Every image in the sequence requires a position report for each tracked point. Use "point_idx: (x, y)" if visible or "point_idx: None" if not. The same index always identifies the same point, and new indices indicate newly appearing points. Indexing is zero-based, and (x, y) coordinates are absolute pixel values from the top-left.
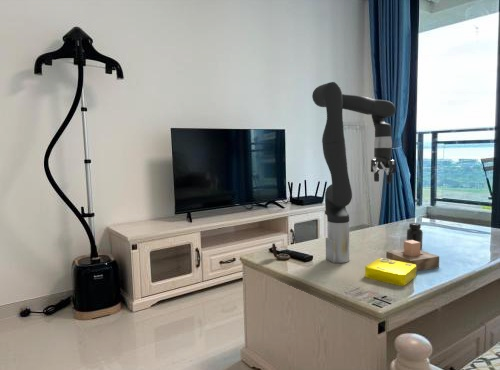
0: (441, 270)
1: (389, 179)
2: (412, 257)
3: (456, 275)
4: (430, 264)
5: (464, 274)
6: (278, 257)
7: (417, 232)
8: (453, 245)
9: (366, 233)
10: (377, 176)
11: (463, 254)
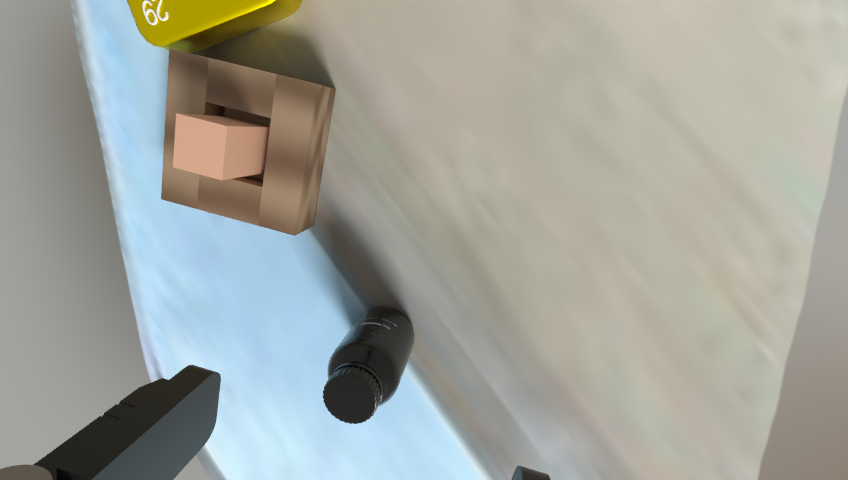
0: None
1: (113, 409)
2: (197, 97)
3: (116, 162)
4: None
5: (113, 191)
6: None
7: (333, 356)
8: (326, 467)
9: (697, 403)
10: None
11: (242, 388)
